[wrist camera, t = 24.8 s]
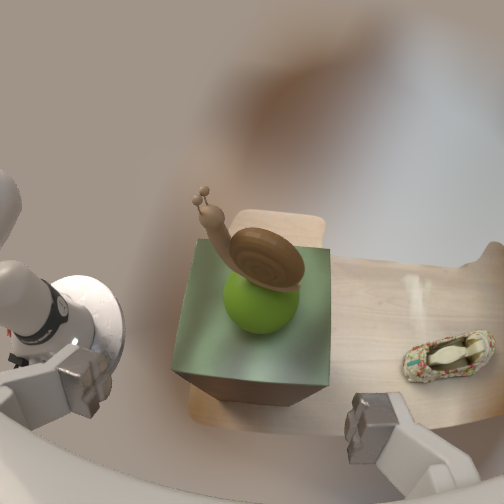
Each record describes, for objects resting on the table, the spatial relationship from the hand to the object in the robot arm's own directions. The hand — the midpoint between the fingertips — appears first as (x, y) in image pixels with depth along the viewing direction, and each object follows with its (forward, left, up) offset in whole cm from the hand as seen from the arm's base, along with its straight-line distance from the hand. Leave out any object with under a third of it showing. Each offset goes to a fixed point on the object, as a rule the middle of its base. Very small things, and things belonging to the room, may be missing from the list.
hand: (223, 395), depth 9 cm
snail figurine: (+4, +7, -14) cm, 16 cm away
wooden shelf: (+4, +7, -43) cm, 44 cm away
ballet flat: (+39, -7, -44) cm, 59 cm away
